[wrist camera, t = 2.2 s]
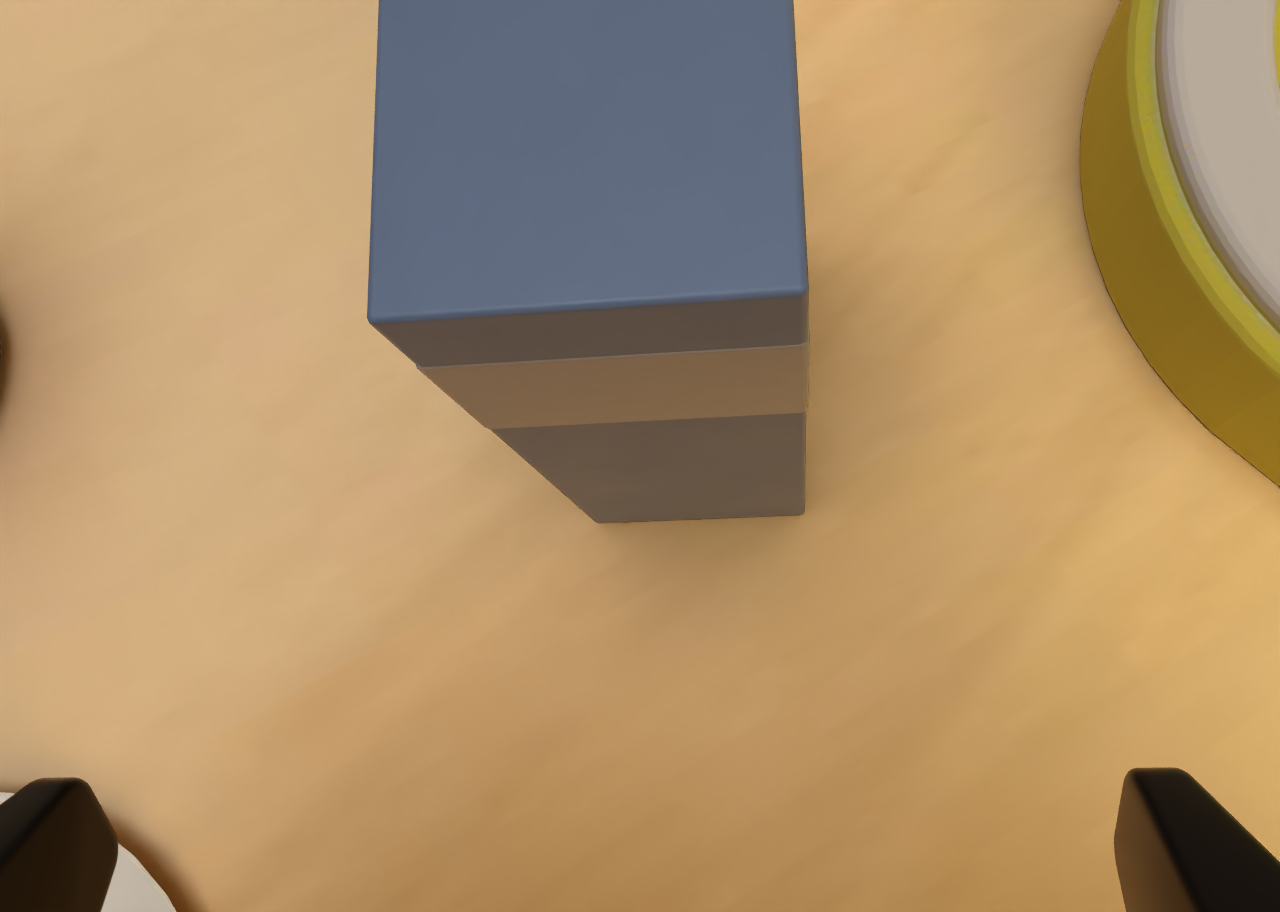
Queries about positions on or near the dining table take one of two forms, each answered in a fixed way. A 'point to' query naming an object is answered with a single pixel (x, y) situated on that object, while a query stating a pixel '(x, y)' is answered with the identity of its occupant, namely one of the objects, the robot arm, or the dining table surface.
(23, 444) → the dining table surface
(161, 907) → the pudding
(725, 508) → the block
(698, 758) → the dining table surface
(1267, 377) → the yellow curved tray
